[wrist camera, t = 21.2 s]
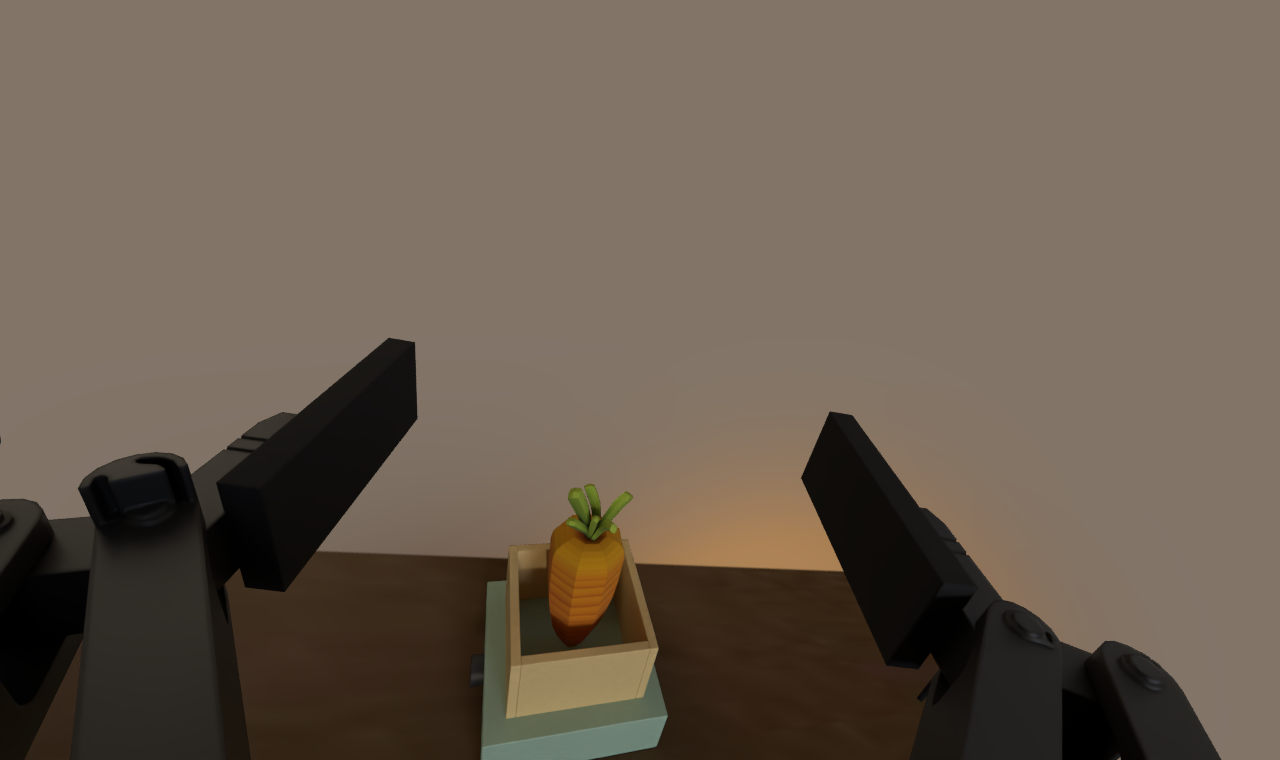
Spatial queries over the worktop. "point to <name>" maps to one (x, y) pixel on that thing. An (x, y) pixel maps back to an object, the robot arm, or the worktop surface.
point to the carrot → (584, 565)
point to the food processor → (565, 671)
